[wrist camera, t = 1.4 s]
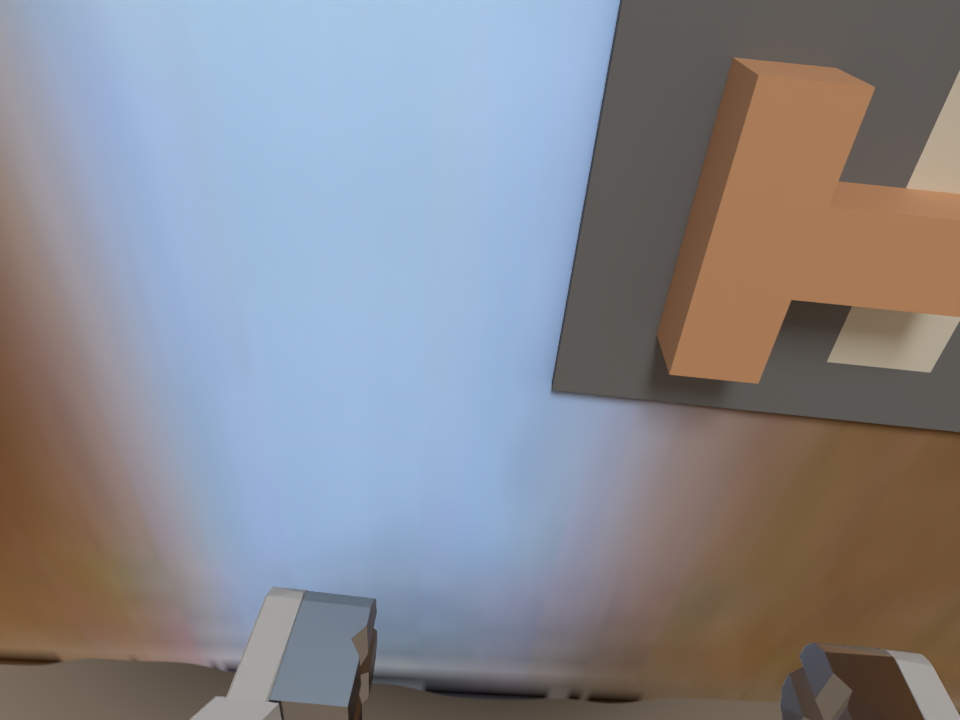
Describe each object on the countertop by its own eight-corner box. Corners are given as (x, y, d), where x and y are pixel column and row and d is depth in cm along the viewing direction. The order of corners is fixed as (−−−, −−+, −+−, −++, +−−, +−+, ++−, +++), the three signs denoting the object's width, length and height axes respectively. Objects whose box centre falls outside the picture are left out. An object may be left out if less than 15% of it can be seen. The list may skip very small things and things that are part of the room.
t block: (656, 334, 28) (669, 374, 26) (732, 57, 22) (758, 75, 20) (889, 358, 28) (923, 400, 26) (1029, 87, 22) (1092, 109, 20)
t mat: (551, 383, 31) (552, 390, 30) (634, -79, 21) (636, -80, 20) (1088, 438, 31) (1096, 446, 30) (1431, 1, 21) (1450, 3, 20)
